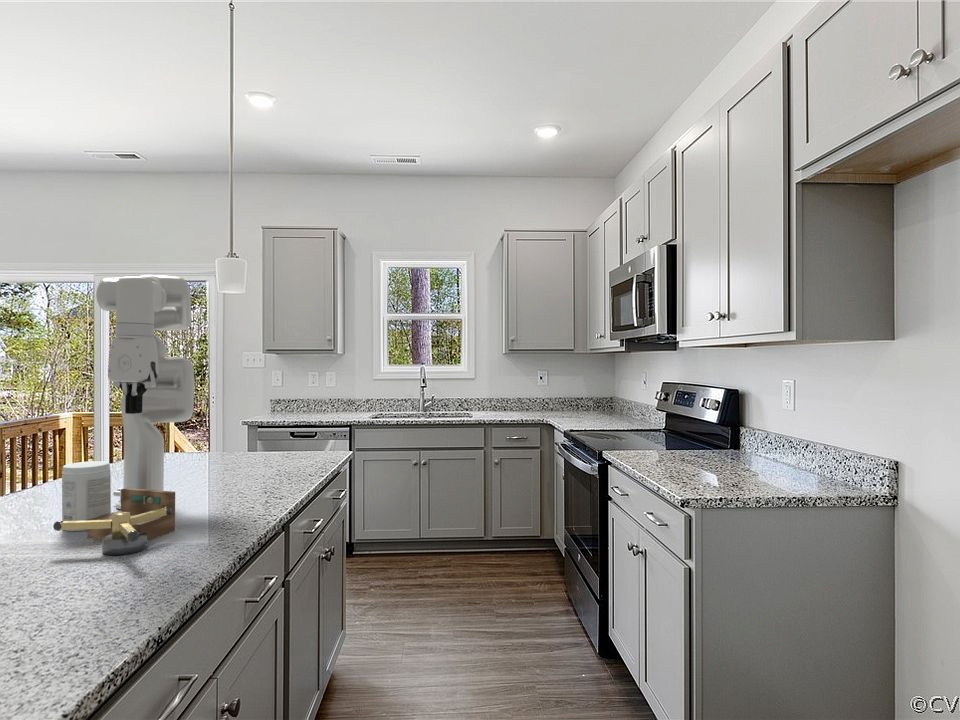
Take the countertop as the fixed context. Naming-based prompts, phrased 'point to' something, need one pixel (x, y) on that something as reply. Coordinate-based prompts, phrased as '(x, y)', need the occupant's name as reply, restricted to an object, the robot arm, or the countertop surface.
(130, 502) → the level stand
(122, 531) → the tan branched rod piece
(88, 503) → the supplement tub
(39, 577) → the countertop surface
